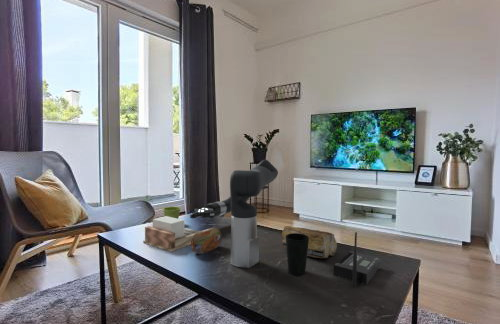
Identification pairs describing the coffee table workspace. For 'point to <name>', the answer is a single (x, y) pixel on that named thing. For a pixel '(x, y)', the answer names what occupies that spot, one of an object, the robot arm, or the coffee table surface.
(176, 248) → the roller track
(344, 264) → the wireless controller
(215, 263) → the coffee table surface
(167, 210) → the plant pot
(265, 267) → the coffee table surface
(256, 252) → the robot arm
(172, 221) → the white rectangular block
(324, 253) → the petrified wood
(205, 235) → the tin
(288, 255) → the cup
